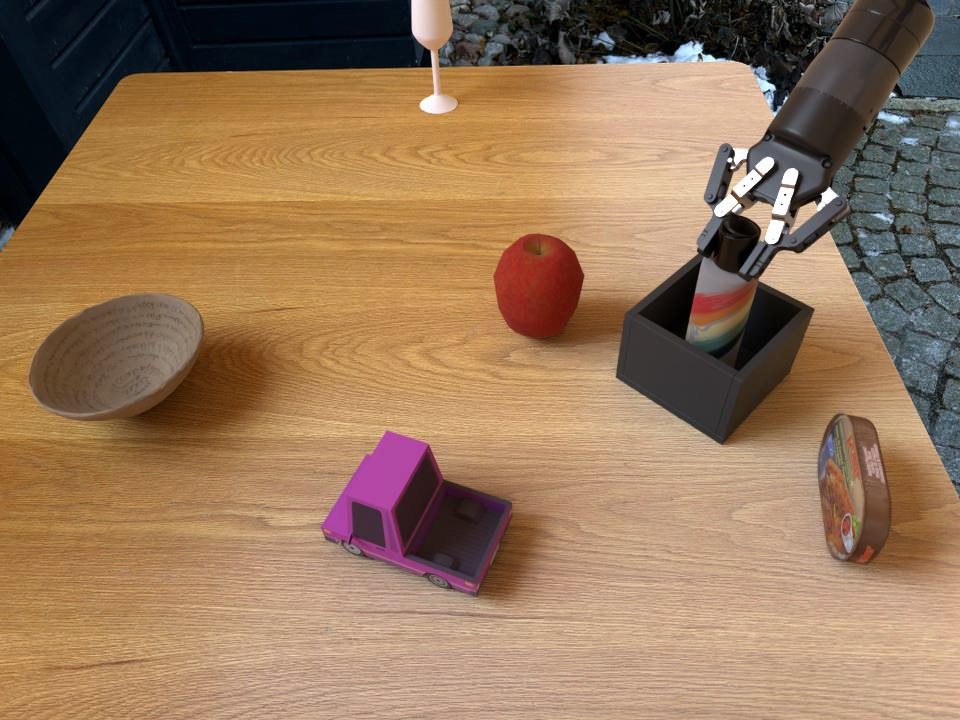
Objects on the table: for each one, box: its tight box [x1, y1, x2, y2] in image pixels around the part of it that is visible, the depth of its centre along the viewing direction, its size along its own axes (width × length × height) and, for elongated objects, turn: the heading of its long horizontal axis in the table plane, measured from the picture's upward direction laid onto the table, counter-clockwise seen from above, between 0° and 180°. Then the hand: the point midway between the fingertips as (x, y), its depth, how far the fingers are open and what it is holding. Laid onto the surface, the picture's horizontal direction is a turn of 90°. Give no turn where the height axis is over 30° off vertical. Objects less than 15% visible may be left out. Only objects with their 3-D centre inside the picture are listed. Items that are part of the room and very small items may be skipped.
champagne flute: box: [411, 0, 458, 115], centre depth 122 cm, size 7×7×24 cm
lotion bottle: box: [685, 214, 762, 368], centre depth 77 cm, size 6×6×20 cm
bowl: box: [27, 292, 205, 422], centre depth 83 cm, size 18×18×8 cm
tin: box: [817, 412, 893, 565], centre depth 69 cm, size 15×3×8 cm, turn 168°
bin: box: [615, 252, 816, 445], centre depth 81 cm, size 14×14×10 cm
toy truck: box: [320, 430, 513, 598], centre depth 69 cm, size 11×16×10 cm
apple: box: [492, 232, 585, 339], centre depth 86 cm, size 10×10×14 cm
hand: (722, 266), depth 72 cm, fingers closed on lotion bottle, 4 cm apart
